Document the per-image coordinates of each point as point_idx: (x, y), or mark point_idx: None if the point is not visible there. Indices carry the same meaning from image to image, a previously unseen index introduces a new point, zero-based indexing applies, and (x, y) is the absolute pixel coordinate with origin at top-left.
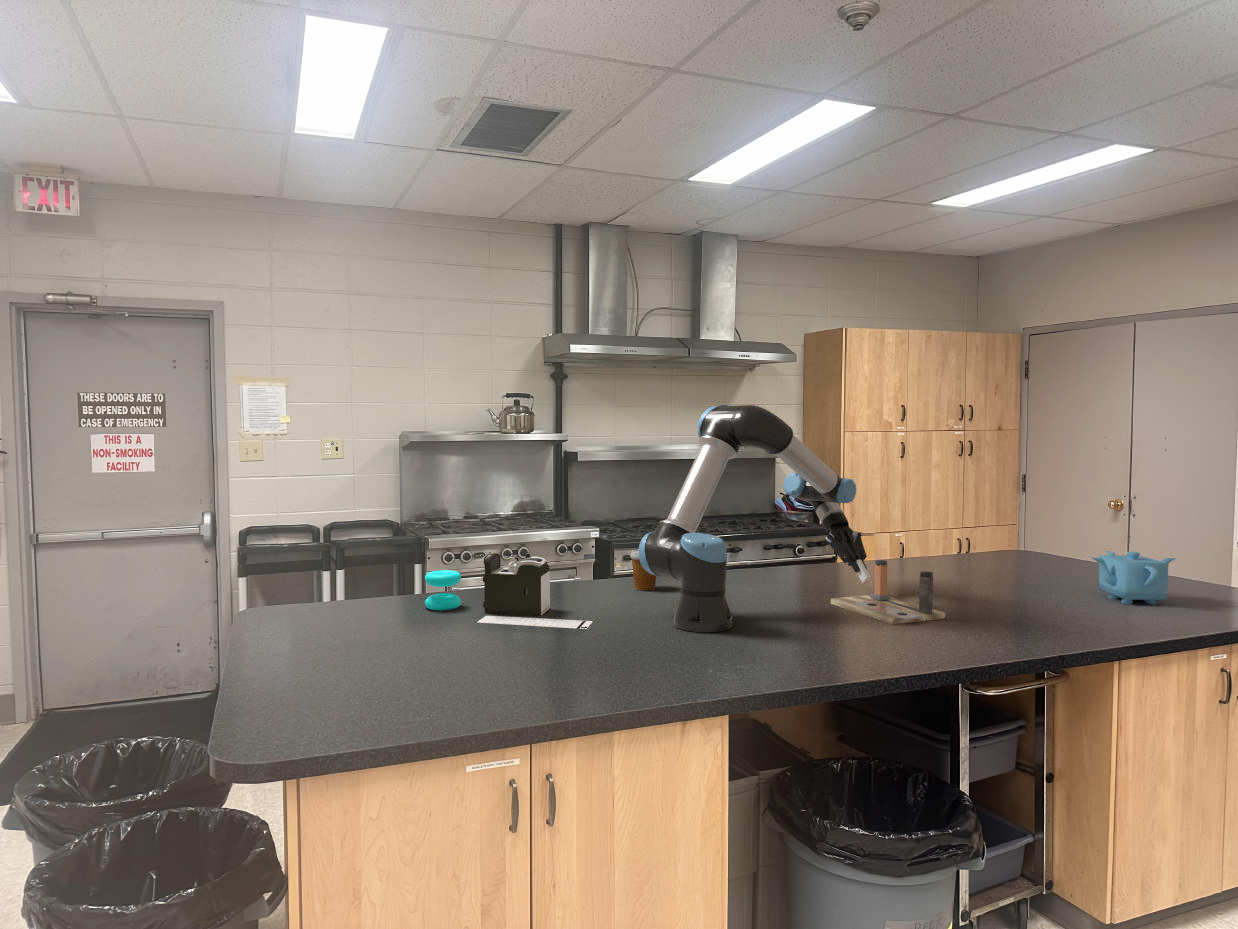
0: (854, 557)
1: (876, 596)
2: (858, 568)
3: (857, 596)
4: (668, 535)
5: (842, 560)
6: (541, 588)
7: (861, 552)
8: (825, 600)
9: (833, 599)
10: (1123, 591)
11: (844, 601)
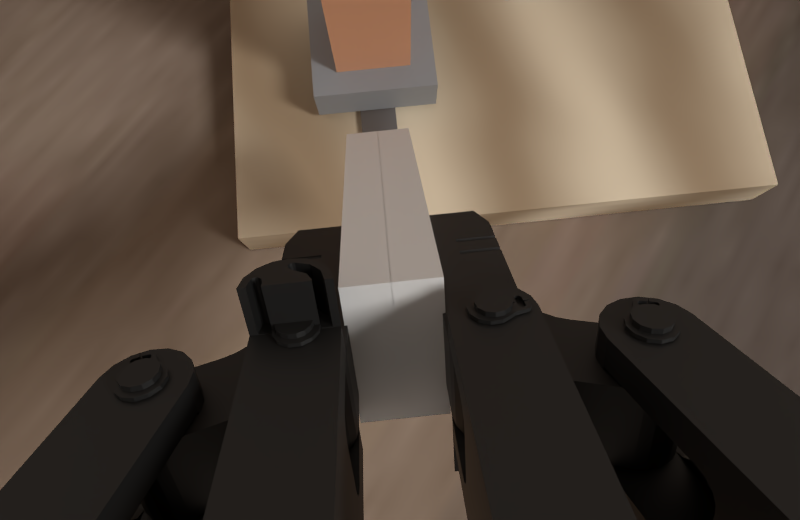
0: (475, 326)
1: (427, 21)
2: (453, 224)
3: (498, 202)
4: None
5: (690, 464)
6: None
7: (129, 503)
8: (740, 326)
9: (767, 151)
10: None
11: (707, 66)
